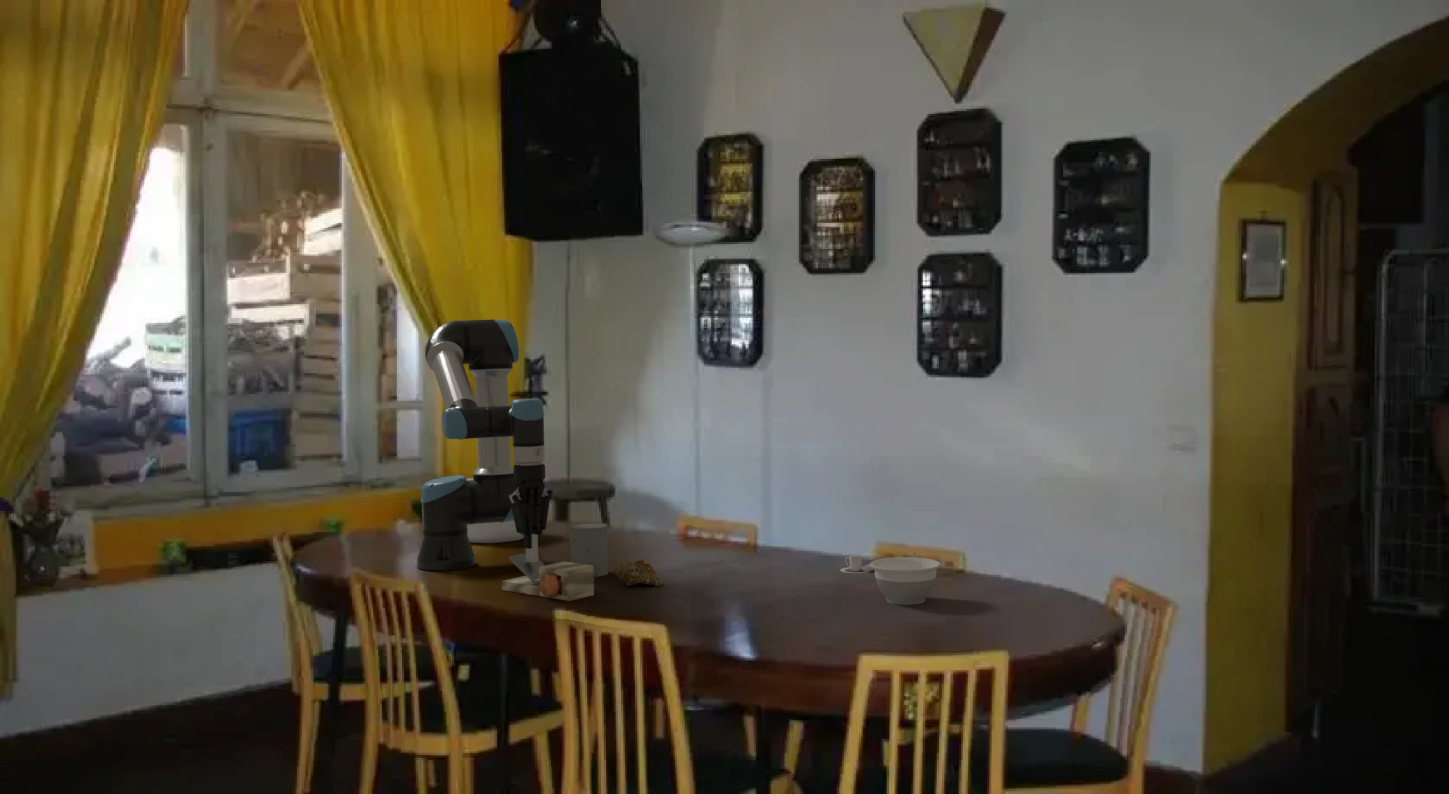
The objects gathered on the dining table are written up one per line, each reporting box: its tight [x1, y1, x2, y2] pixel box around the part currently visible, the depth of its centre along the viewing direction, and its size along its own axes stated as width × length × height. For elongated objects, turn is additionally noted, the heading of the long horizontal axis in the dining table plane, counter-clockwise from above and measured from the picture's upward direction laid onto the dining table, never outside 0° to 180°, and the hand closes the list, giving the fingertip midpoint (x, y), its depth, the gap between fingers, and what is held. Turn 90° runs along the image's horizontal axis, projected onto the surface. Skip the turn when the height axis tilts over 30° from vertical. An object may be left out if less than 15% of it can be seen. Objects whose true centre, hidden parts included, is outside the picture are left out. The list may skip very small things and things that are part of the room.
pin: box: [540, 572, 596, 598], centre depth 343 cm, size 5×14×5 cm, turn 141°
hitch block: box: [501, 561, 595, 602], centre depth 346 cm, size 23×8×7 cm, turn 51°
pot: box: [466, 477, 524, 544], centre depth 429 cm, size 26×24×17 cm
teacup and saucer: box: [839, 554, 875, 574], centre depth 366 cm, size 9×8×4 cm
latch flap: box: [508, 552, 545, 585], centre depth 349 cm, size 11×7×1 cm
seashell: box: [611, 559, 662, 587], centre depth 353 cm, size 9×8×10 cm
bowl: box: [869, 556, 942, 606], centre depth 329 cm, size 16×16×9 cm
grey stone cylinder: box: [568, 522, 609, 578], centre depth 369 cm, size 10×10×12 cm
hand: (532, 561), depth 349 cm, fingers closed
